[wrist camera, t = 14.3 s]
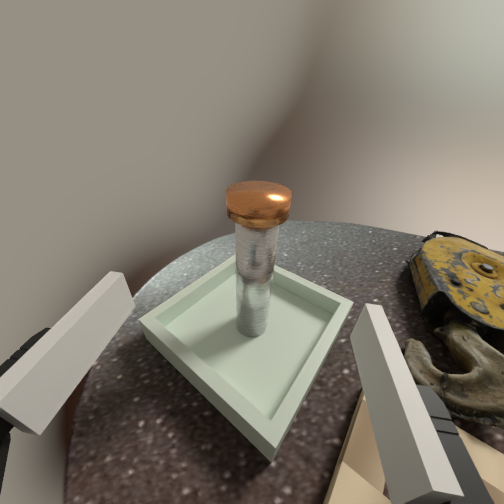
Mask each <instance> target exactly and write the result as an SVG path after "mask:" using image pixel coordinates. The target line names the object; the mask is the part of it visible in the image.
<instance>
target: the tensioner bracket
mask: <svg viewBox="0 0 504 504" xmlns="http://www.w3.org/2000/svg"><path fill="white" fill-rule="evenodd" d="M455 427H456V429H457V431H458V433H459V437H461V439H462V441H463V443H464V445H465V447H466V449H467V451H468V452H469V454H470V456H471V458H472V460H473V462H474V464H475V466H476V468H477V470H478V472H479V474H480V476H481V478H482V480H483V482H484V484H485V486H486V488H487V490H488V492H489V494H490V496H491V498H492V500H493V501H494V503H495V504H504V455H503V454H502V453H500V452H498V451H497V450H495V449H493V448H492V447H490V446H488V445H487V444H485V443H483V442H482V441H480V440H478V439H477V438H475V437H473V436H472V435H470V434H468V433H467V432H465V431H463V430H462V429H460V428H459V427H457V426H455ZM384 484H385V476H384V472H383V468H382V464H381V460H380V456H379V451H378V447H377V443H376V439H375V435H374V431H373V427H372V423H371V419H370V415H369V411H368V407H367V403H366V399H365V395H364V391H363V388H362V391H361V394H360V396H359V399H358V402H357V405H356V408H355V411H354V414H353V417H352V420H351V423H350V426H349V429H348V432H347V435H346V438H345V441H344V443H343V446H342V449H341V452H340V455H339V458H338V461H337V464H336V467H335V470H334V473H333V476H332V479H331V482H330V485H329V488H328V490H327V493H326V496H325V499H324V502H323V504H391V501H390V500H389V499H388V498H386V497H385V496H384V495H383V489H384Z"/></svg>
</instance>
